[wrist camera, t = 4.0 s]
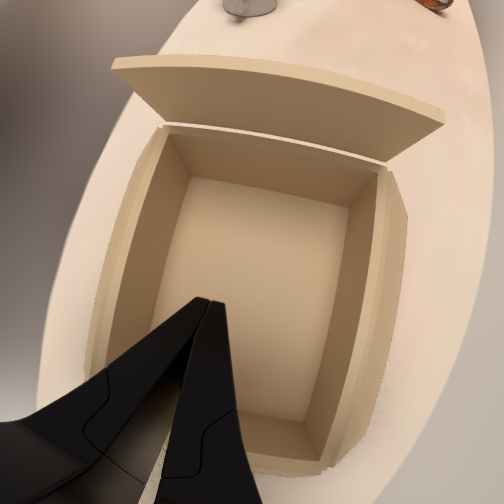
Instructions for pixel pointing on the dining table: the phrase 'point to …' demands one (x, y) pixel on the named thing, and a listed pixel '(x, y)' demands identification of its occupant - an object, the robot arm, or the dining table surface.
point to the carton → (264, 280)
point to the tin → (436, 4)
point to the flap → (280, 101)
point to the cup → (249, 7)
